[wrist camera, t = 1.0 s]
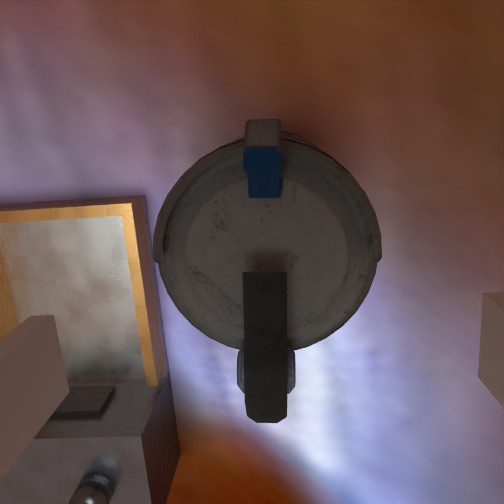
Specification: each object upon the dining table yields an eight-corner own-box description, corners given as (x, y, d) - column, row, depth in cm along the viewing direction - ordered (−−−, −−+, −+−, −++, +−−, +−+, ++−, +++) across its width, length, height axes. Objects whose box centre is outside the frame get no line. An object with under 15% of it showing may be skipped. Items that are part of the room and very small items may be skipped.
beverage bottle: (218, 268, 43) (145, 448, 19) (212, 123, 40) (113, 121, 16) (327, 268, 43) (390, 454, 19) (331, 120, 39) (414, 115, 15)
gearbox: (-12, 205, 43) (-119, 235, 31) (145, 195, 42) (94, 222, 30) (45, 458, 50) (-24, 557, 39) (180, 455, 49) (150, 556, 38)
